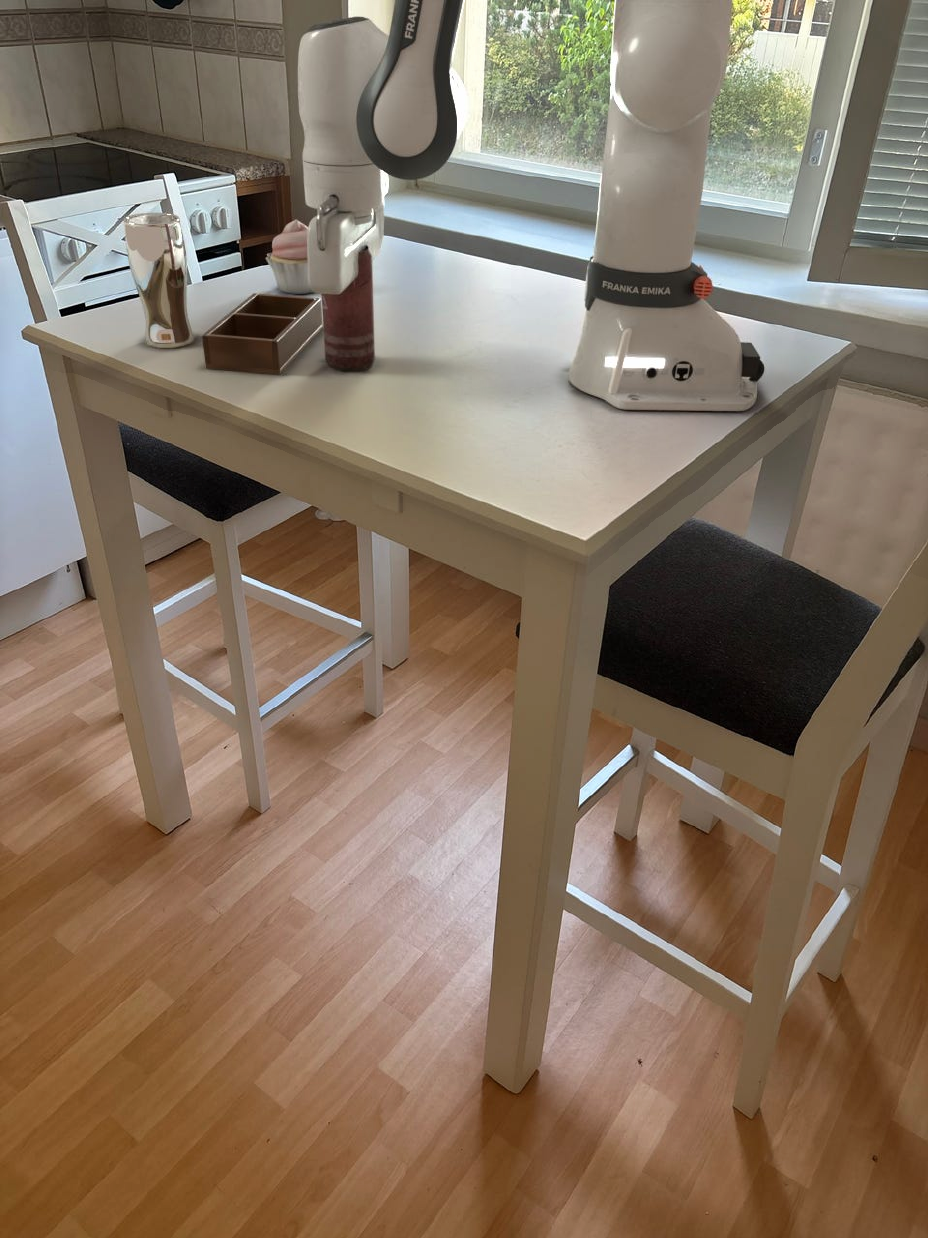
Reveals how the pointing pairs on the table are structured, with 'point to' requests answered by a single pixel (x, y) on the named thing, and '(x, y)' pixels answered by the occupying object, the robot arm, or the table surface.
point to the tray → (263, 334)
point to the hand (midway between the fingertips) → (350, 311)
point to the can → (351, 321)
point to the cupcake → (291, 259)
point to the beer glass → (160, 276)
